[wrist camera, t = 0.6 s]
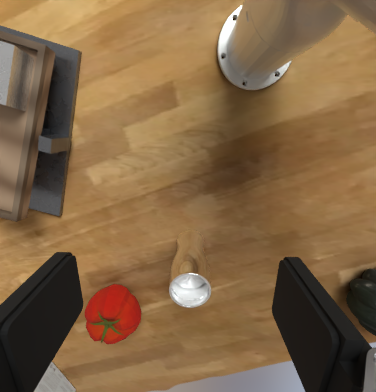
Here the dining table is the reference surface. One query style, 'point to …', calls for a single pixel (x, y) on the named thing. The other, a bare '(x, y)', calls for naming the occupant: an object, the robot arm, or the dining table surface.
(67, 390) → the supplement box
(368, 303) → the squash
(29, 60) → the steel block
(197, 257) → the beer glass
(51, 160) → the pivot stand
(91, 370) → the dining table surface
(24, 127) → the long rimmed wooden tray
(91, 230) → the dining table surface
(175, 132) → the dining table surface
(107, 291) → the tomato
